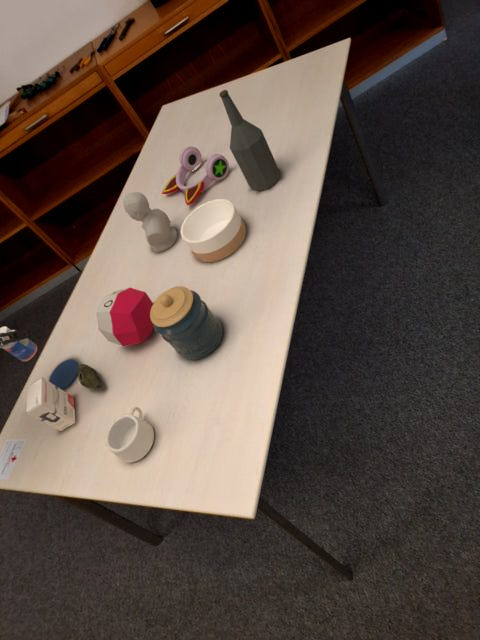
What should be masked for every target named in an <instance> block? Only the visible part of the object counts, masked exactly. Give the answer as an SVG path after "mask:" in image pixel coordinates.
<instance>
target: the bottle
mask: <svg viewBox="0 0 480 640" xmlns="http://www.w3.org/2000/svg"><path fill="white" fill-rule="evenodd" d="M219 97H220V99H221V101H222V103H223V107H224V109H225V112H226V115H227V117H228V120H229V122H230V123H229V124H230V125H231V126H230V127H231V130H230V142H229V149H230V152H231V154H232V155H233V158H234V159H235V162H236V163H237V165H238V168H239V169H240V171H241V173H242V175H243V177H244V179H245V180H246V182H247V185H248V187H249V188H250V189H251V190H253V191H256V192H264V191H266V190H269V189H271V188H272V187H273V186H275V185H276V184H277V183H278V181H279V179H280V169H279V167H278V164H277V162H276V160H275V158H274V155H273V153H272V151H271V148H270V146H269V144H268V141H267V139H266V136H265V134H264V132H263V130H262V129H261V128H260V127H258V126H256V125H254V124H253V123H251V122H250V121H248V120H246V119H245V118H244V117H243V115H242V114H241V113H240V110H239V109H238V107H237V106H236V104H235V103H234V101H233V99H232V97H231V96H230V94H229V91H228V90H227V89H223V90H222V91H220V92H219Z"/></svg>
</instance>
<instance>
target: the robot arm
mask: <svg viewBox="0 0 480 640" xmlns="http://www.w3.org/2000/svg"><path fill="white" fill-rule="evenodd" d="M14 330H15V331H13V332H8V333H0V345H1V342H2V344H3V345H1V346H0V349H3V347H6V346H8V345H9V343H13V342H14V343H15V342H16V341H17V342H18V341H19V340H23V339H26V338H28V337H29V336H28V334H27V333H28V332H27V331H26V329H23V330H16V329H14ZM28 339H29V338H28Z"/></svg>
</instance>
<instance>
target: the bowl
mask: <svg viewBox="0 0 480 640" xmlns="http://www.w3.org/2000/svg"><path fill="white" fill-rule="evenodd" d="M180 236H181V239H182V240H183V241H184V243H185V244H186V245H187V247H188V248H189V250H190V251H191V252H192V254H193V255H194V256H195V258H197V260H199V261H201V262H203V263H215V262H219V261H222V260H224V259H226V258H228V257H230V256H231V255H232V254H233V253H235V252H236V251H237V250H238V249H239V248H240V247H241V246H242V244H243V242H244V240H245V238H246V236H247V227H246V225H245V222H244V221H243V219H242V217H241V216H240V214H239V212H238V210H237V208H236V206H235V205H234V204H233V202H232V201H230V200H228V199H226V198H215V199H211V200H209V201H206V202H204V203H202V204H200V205H199V206H197V207H195V209H193V210H192V211H191V212H190V213H188V215H187V216H186V217H185V219H184V220H183V222H182V224H181V227H180Z"/></svg>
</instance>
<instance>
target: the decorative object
mask: <svg viewBox="0 0 480 640" xmlns="http://www.w3.org/2000/svg"><path fill="white" fill-rule="evenodd" d="M153 304H154V302H153V301H152V299H151V298H150V296H149V295H148V294H147V291H142V290H139V289H136V288H133V287H125V288H123V289H119V290H115V291H113V292H111V293H109V294H107V295H105V296H104V297H102V298H101V299H100V303H99V305H98V308H97V311H96V319H97V329H98V331H99V332H100V333H101V334H102V335H103V337H104V338H105V339H106V340H107V341H108V342H110V343H113V344H115V345H117V346H121V347H129V346H133V345H137V344H141V343H142V342H144V341H145V340H147V339H148V338H149V337H150V336H151V335H152V334H153V330H154V327H153V323H152V321H151V319H150V311H151V308H152V306H153Z"/></svg>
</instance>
